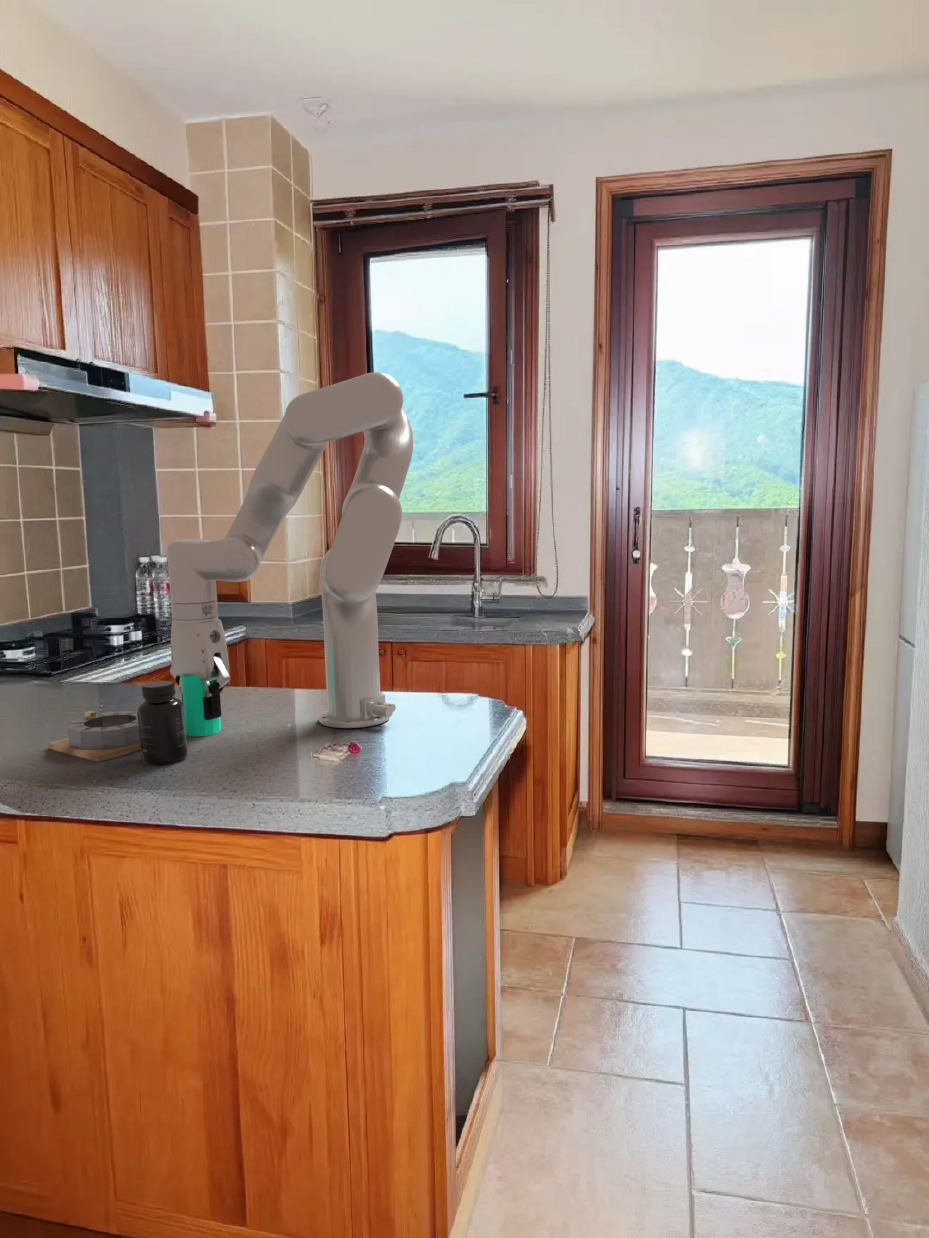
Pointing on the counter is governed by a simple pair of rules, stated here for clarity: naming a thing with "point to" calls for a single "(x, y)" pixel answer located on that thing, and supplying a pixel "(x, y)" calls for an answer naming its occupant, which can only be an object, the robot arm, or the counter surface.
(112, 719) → the steel collar
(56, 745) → the oak board
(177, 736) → the supplement bottle
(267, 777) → the counter surface
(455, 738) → the counter surface
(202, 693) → the candle
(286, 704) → the counter surface
